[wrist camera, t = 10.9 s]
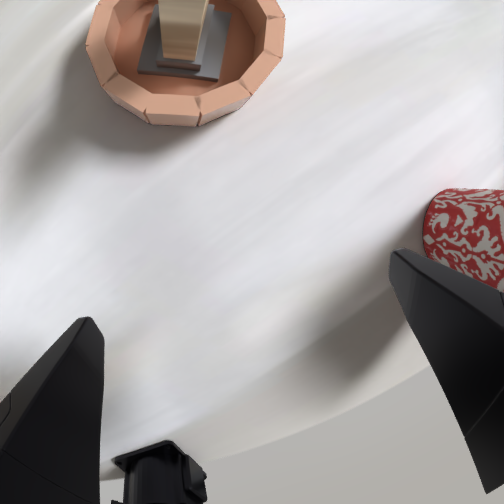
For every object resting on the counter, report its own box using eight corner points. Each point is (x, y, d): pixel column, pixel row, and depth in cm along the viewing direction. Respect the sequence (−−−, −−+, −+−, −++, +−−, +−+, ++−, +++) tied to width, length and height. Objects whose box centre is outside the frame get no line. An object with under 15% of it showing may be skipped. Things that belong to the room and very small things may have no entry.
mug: (429, 160, 23) (571, 168, 10) (484, 197, 25) (596, 220, 13) (385, 304, 25) (507, 386, 12) (447, 317, 27) (547, 377, 14)
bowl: (138, 156, 18) (129, 151, 15) (81, 23, 15) (68, 0, 12) (294, 88, 19) (315, 74, 16) (228, -32, 16) (237, -58, 13)
